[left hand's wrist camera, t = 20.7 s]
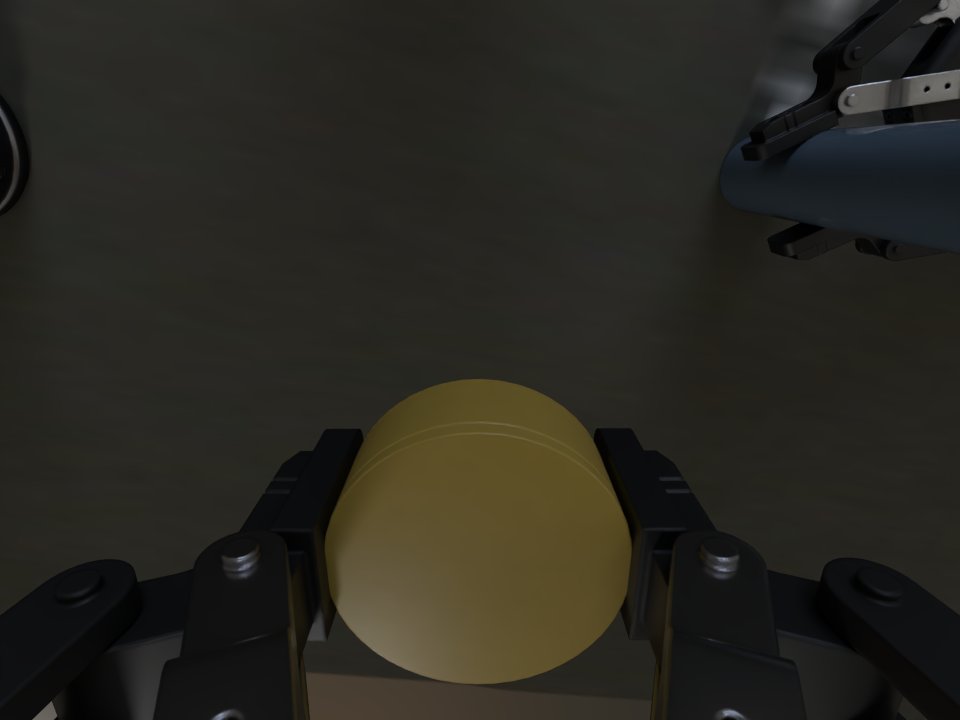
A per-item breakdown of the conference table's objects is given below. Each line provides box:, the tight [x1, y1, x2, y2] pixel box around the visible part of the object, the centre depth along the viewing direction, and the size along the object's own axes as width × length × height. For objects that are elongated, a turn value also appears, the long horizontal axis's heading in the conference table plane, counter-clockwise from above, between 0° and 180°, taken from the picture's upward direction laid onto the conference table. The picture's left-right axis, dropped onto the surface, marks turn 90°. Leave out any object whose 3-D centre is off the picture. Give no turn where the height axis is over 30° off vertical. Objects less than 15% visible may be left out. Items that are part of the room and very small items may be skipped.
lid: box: [324, 379, 632, 684], centre depth 10 cm, size 5×5×2 cm
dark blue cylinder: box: [720, 119, 960, 255], centre depth 24 cm, size 4×4×20 cm
